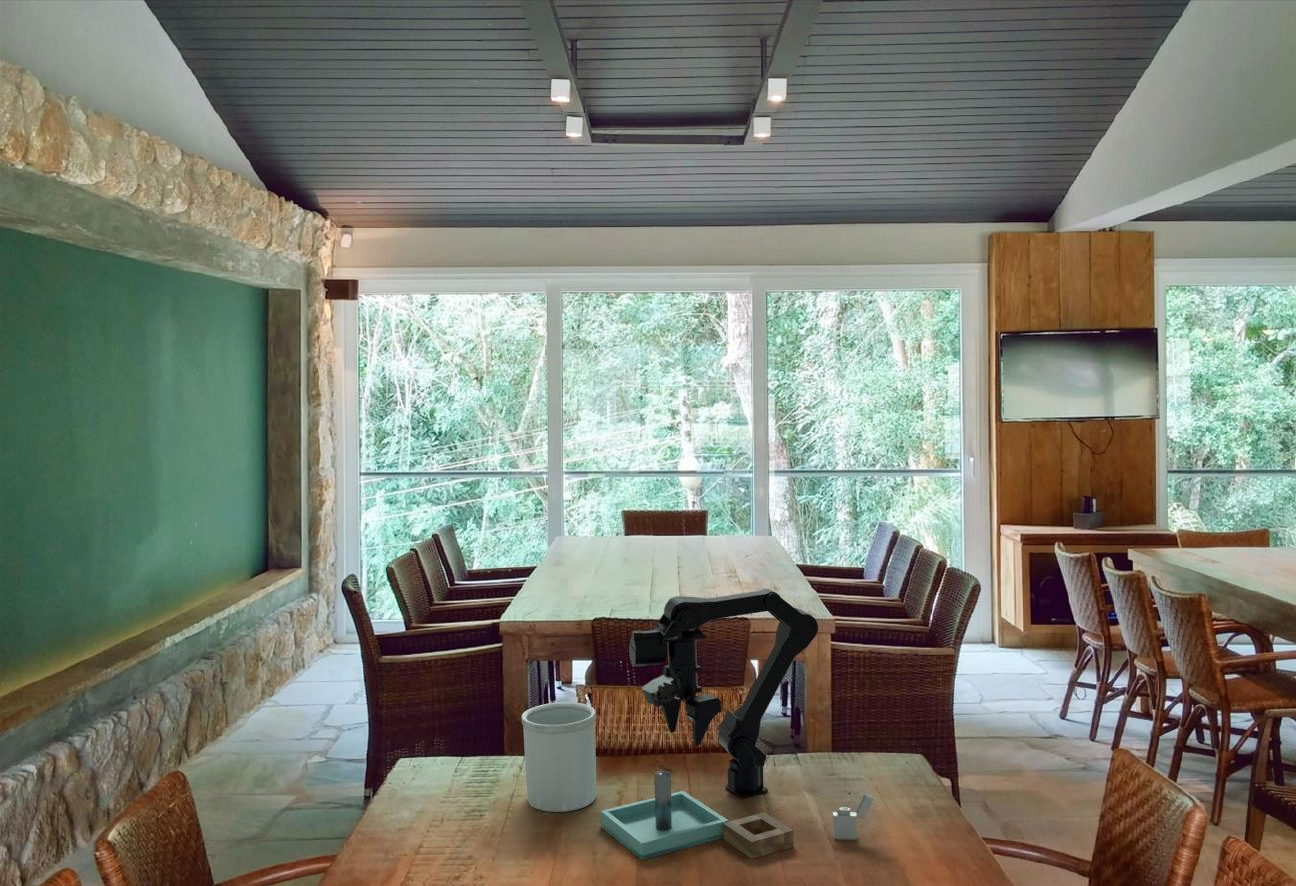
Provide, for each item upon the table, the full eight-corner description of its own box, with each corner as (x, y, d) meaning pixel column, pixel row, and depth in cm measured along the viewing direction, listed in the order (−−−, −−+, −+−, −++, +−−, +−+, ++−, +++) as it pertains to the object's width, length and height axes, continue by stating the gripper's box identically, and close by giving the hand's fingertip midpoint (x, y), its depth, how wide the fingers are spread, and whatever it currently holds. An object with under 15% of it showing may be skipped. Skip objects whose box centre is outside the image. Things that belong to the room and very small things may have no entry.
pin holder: (763, 828, 189) (763, 812, 189) (793, 846, 181) (793, 830, 181) (723, 839, 185) (723, 823, 185) (751, 858, 177) (751, 842, 177)
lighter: (833, 839, 184) (833, 795, 184) (832, 834, 186) (832, 791, 185) (873, 839, 184) (873, 796, 183) (872, 835, 185) (872, 792, 185)
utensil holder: (510, 808, 201) (507, 720, 200) (545, 780, 214) (543, 698, 213) (577, 818, 195) (575, 728, 194) (609, 789, 209) (607, 705, 208)
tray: (683, 805, 200) (682, 790, 200) (728, 836, 186) (728, 820, 186) (600, 826, 191) (600, 810, 191) (642, 860, 177) (641, 843, 177)
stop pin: (666, 822, 191) (665, 769, 190) (674, 828, 188) (673, 774, 188) (652, 826, 189) (651, 772, 189) (660, 831, 187) (659, 777, 186)
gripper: (623, 658, 207) (626, 733, 207) (673, 679, 191) (675, 761, 191) (670, 649, 212) (672, 723, 213) (722, 669, 196) (724, 749, 197)
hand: (684, 738), depth 204 cm, fingers open, 9 cm apart
